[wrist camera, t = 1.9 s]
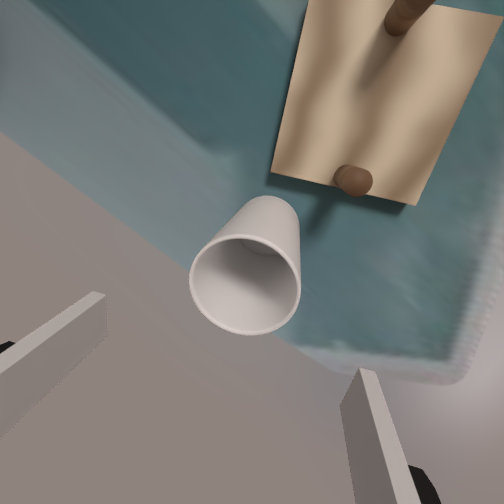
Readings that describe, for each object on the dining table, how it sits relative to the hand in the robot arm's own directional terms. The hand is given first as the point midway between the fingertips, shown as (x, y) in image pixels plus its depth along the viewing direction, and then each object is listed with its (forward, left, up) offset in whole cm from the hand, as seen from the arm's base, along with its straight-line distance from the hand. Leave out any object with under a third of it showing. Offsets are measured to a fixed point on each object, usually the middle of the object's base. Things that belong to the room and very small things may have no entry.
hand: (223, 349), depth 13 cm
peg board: (+7, +15, -22) cm, 27 cm away
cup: (0, 0, -22) cm, 22 cm away
